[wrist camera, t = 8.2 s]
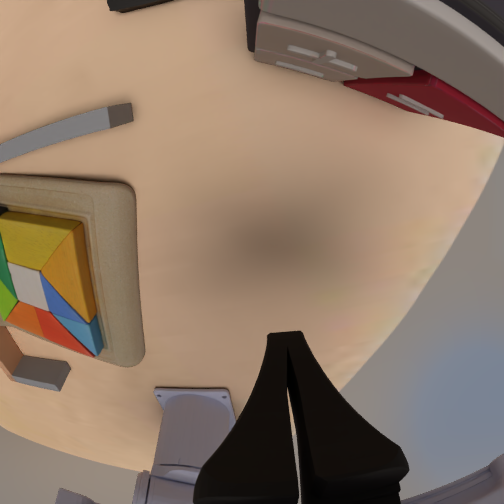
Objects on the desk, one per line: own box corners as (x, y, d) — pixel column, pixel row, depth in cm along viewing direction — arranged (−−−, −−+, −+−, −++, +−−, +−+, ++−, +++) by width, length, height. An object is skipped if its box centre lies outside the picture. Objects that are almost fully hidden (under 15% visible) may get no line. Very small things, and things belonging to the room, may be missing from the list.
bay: (195, 376, 28) (190, 405, 25) (21, 360, 29) (10, 380, 26) (130, 102, 16) (107, 106, 13) (-60, 176, 17) (-83, 189, 14)
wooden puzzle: (-34, 171, 18) (-58, 184, 15) (139, 176, 19) (120, 193, 16) (3, 318, 26) (-11, 338, 23) (148, 356, 28) (139, 384, 25)
